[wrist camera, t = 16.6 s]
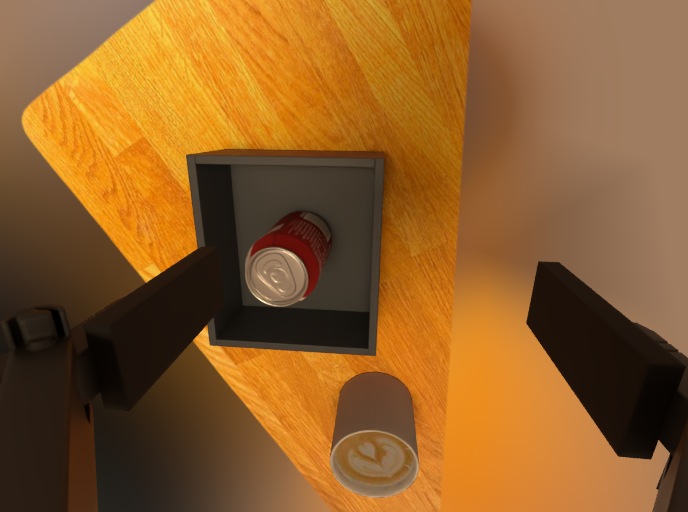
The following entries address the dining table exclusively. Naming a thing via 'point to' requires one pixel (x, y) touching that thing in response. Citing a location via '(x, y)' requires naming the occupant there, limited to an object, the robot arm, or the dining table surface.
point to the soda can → (288, 259)
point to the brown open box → (263, 213)
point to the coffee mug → (375, 437)
